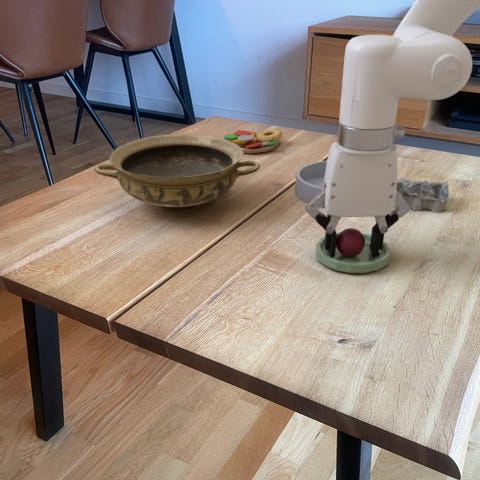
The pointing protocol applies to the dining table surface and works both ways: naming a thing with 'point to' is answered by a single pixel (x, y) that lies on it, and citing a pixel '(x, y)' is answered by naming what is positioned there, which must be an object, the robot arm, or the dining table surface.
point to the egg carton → (424, 194)
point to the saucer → (354, 258)
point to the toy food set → (255, 140)
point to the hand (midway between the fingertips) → (352, 252)
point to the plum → (350, 242)
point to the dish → (310, 180)
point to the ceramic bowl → (177, 169)
